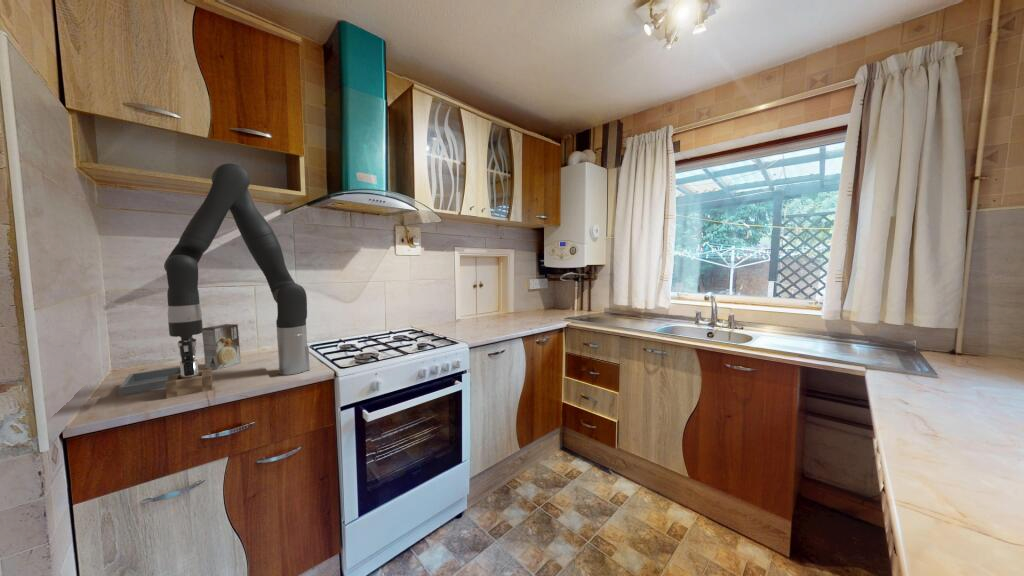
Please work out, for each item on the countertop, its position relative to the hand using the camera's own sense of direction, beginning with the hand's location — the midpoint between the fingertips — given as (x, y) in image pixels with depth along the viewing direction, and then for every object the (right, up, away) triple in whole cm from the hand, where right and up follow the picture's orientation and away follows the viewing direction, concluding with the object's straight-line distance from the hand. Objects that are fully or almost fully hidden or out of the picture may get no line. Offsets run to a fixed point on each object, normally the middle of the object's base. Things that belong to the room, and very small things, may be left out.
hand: (189, 373), depth 106 cm
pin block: (0, -6, 0) cm, 6 cm away
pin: (0, -5, 0) cm, 5 cm away
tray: (-17, -6, +7) cm, 19 cm away
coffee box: (-14, -4, +28) cm, 32 cm away
